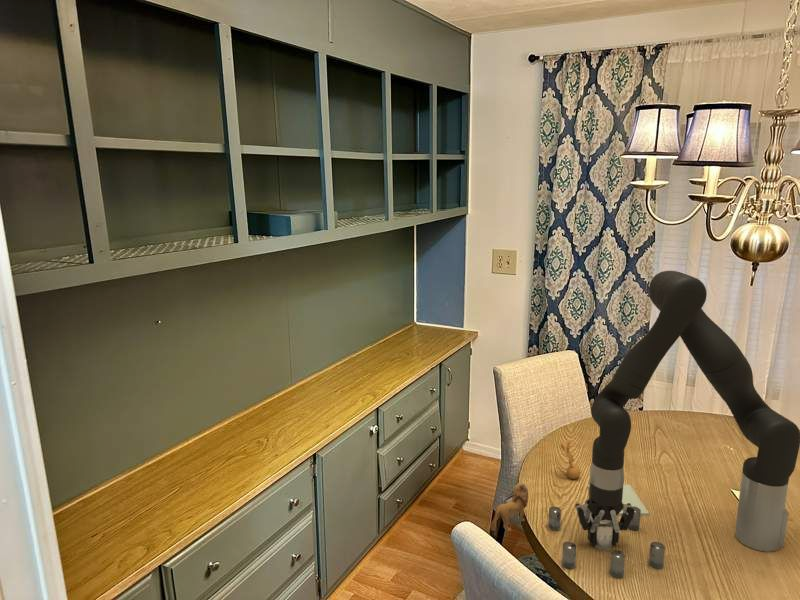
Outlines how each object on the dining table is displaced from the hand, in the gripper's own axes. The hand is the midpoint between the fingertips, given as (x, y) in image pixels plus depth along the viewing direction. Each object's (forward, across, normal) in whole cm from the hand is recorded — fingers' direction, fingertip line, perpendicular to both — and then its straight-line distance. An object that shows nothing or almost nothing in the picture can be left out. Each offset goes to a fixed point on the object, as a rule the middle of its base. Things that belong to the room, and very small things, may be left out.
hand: (602, 543), depth 134 cm
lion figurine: (+1, +21, -9) cm, 23 cm away
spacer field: (0, 0, 0) cm, 0 cm away
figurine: (+1, 0, -31) cm, 31 cm away
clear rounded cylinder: (+1, 0, 0) cm, 1 cm away
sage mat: (0, -10, -19) cm, 21 cm away
